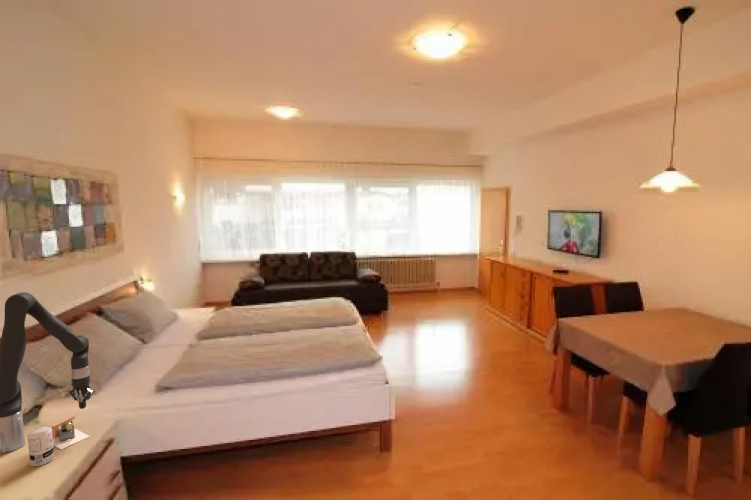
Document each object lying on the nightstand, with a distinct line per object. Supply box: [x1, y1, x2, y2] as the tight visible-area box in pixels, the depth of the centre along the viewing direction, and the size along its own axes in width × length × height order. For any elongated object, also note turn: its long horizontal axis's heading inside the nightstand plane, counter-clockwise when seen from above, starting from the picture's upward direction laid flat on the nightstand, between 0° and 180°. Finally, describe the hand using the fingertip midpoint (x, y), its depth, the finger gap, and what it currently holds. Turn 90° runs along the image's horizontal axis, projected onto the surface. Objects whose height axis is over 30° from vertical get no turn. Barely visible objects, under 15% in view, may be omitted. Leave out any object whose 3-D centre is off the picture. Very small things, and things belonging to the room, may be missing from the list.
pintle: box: [66, 422, 72, 431], centre depth 191 cm, size 2×2×8 cm
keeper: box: [50, 415, 76, 438], centre depth 195 cm, size 10×2×6 cm, turn 164°
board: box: [53, 427, 91, 451], centre depth 190 cm, size 12×18×1 cm
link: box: [59, 420, 75, 442], centre depth 193 cm, size 12×6×4 cm, turn 39°
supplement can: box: [27, 425, 55, 467], centre depth 172 cm, size 8×8×15 cm
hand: (82, 408), depth 195 cm, fingers closed
